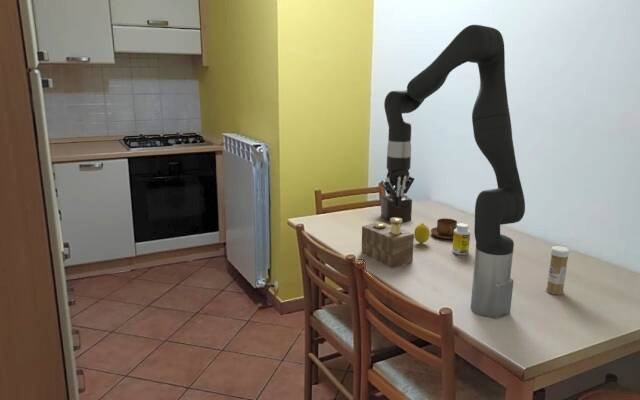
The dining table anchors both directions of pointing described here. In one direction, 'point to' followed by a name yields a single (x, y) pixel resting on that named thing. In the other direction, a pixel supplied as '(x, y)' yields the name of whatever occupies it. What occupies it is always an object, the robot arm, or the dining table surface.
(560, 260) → the sprinkles bottle
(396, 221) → the near peg
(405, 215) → the manual coffee grinder
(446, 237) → the cup and saucer
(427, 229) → the lemon
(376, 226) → the far peg
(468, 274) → the dining table surface
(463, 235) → the supplement bottle
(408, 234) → the brown wooden block
